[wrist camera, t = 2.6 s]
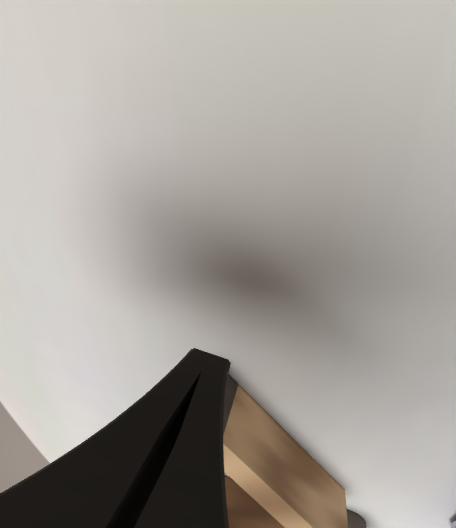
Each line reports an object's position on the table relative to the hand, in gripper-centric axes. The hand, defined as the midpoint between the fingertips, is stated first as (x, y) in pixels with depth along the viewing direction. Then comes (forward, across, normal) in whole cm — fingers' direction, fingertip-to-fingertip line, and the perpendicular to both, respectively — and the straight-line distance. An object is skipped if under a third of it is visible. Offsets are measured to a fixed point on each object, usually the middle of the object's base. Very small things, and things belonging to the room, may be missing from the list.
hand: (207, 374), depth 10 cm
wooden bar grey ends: (+5, -4, +9) cm, 11 cm away
